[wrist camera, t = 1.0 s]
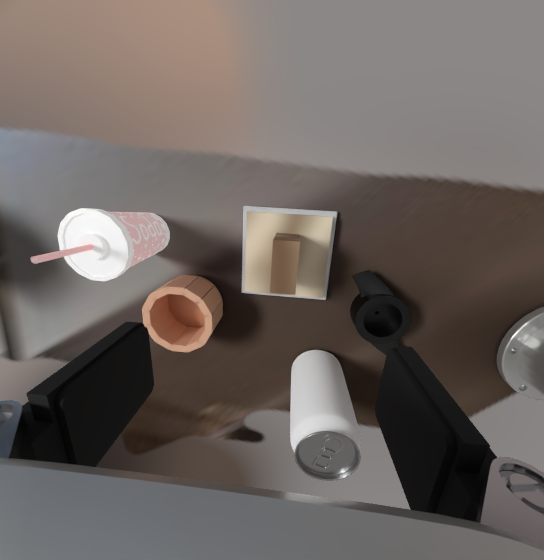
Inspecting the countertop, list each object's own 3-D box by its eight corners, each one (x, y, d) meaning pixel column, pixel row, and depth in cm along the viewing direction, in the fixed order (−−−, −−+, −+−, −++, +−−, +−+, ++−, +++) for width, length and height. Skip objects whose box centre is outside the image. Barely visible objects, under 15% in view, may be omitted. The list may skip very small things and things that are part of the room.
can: (349, 357, 32) (379, 443, 21) (329, 395, 34) (346, 493, 23) (301, 341, 32) (305, 418, 21) (284, 380, 34) (279, 470, 23)
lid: (331, 216, 27) (341, 220, 21) (322, 295, 30) (328, 317, 24) (248, 211, 28) (236, 214, 22) (245, 289, 30) (235, 309, 25)
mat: (336, 211, 27) (337, 211, 27) (325, 298, 30) (325, 299, 30) (244, 205, 28) (243, 206, 27) (242, 291, 31) (241, 292, 30)
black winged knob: (333, 340, 32) (337, 353, 29) (352, 264, 29) (358, 271, 26) (395, 350, 32) (404, 365, 29) (420, 274, 29) (433, 283, 26)
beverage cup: (181, 256, 30) (92, 300, 17) (133, 260, 31) (11, 307, 18) (169, 202, 28) (59, 205, 15) (119, 208, 29) (-29, 216, 16)
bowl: (224, 276, 30) (211, 290, 26) (224, 332, 33) (212, 354, 28) (163, 271, 31) (139, 284, 26) (167, 326, 33) (146, 348, 29)
